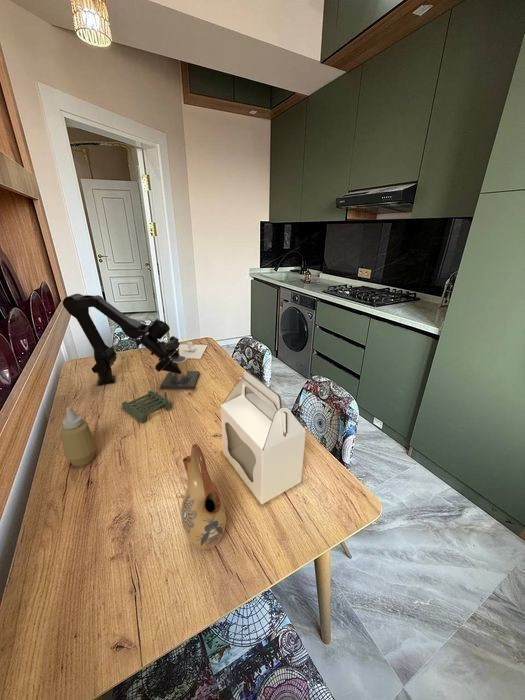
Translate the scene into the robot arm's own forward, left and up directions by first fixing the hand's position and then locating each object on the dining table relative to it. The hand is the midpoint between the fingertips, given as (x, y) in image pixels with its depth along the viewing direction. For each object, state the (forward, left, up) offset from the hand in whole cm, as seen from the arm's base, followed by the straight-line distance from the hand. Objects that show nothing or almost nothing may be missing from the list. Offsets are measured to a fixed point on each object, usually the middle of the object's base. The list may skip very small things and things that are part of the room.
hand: (182, 369), depth 128 cm
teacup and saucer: (-35, +9, -6) cm, 36 cm away
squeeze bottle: (+35, -37, -6) cm, 52 cm away
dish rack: (+15, -17, -6) cm, 24 cm away
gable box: (+60, +9, -6) cm, 61 cm away
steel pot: (-1, -1, -4) cm, 4 cm away
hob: (-1, -1, -6) cm, 6 cm away
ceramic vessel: (+73, -11, -6) cm, 75 cm away
